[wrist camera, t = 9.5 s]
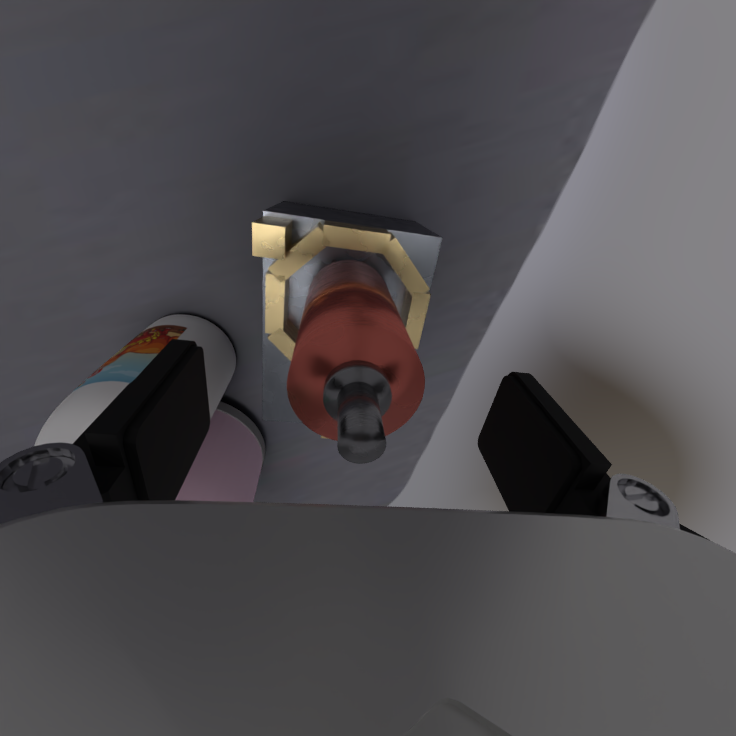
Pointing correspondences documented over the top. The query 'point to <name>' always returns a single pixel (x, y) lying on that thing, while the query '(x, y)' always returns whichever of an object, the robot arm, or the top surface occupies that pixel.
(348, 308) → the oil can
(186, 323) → the milk bottle
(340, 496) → the top surface
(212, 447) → the blender
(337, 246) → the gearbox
